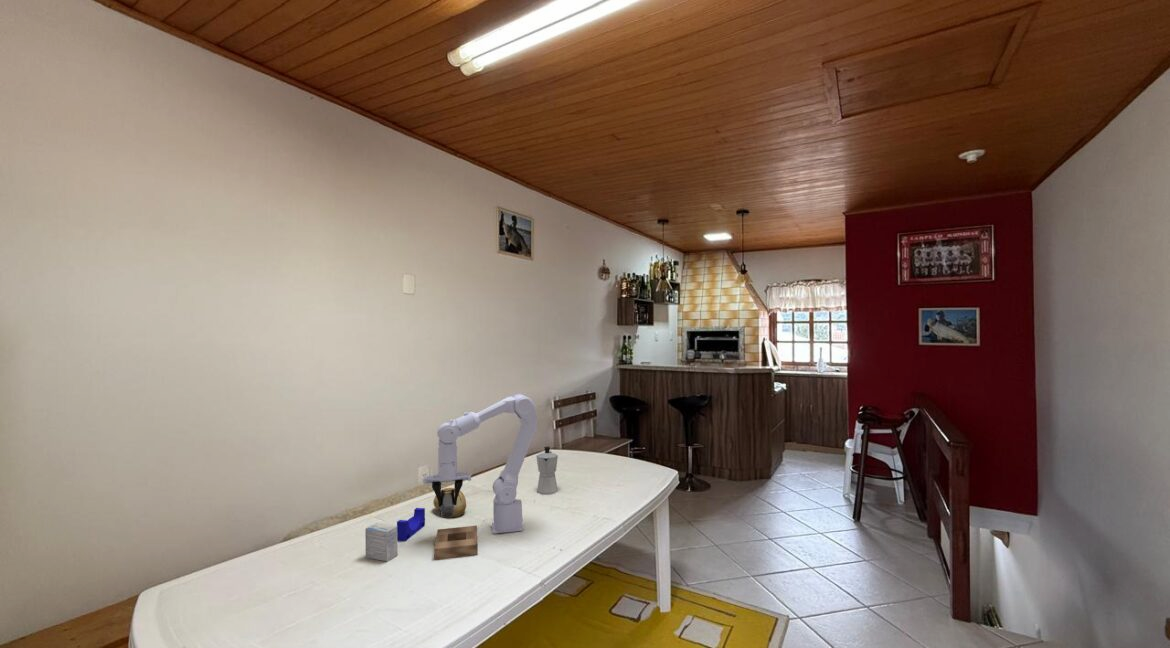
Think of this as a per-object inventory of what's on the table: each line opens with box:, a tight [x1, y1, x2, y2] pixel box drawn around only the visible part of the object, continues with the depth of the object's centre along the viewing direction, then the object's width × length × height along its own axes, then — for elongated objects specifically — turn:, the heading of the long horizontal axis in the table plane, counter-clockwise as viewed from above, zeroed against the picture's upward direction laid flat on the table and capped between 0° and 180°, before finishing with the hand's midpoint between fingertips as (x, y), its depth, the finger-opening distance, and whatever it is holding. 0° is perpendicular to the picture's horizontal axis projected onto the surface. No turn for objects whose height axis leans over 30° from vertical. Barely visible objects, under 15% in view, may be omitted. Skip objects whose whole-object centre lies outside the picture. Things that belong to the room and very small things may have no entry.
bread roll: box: [433, 487, 467, 518], centre depth 170 cm, size 10×15×8 cm, turn 49°
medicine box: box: [364, 522, 399, 562], centre depth 136 cm, size 8×4×9 cm, turn 71°
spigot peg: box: [440, 487, 455, 519], centre depth 149 cm, size 4×4×8 cm
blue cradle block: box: [396, 507, 426, 542], centre depth 152 cm, size 12×4×6 cm, turn 171°
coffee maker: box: [536, 445, 559, 495], centre depth 193 cm, size 15×9×18 cm, turn 179°
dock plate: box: [433, 525, 479, 561], centre depth 142 cm, size 12×14×3 cm
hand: (447, 504), depth 149 cm, fingers closed on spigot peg, 4 cm apart
